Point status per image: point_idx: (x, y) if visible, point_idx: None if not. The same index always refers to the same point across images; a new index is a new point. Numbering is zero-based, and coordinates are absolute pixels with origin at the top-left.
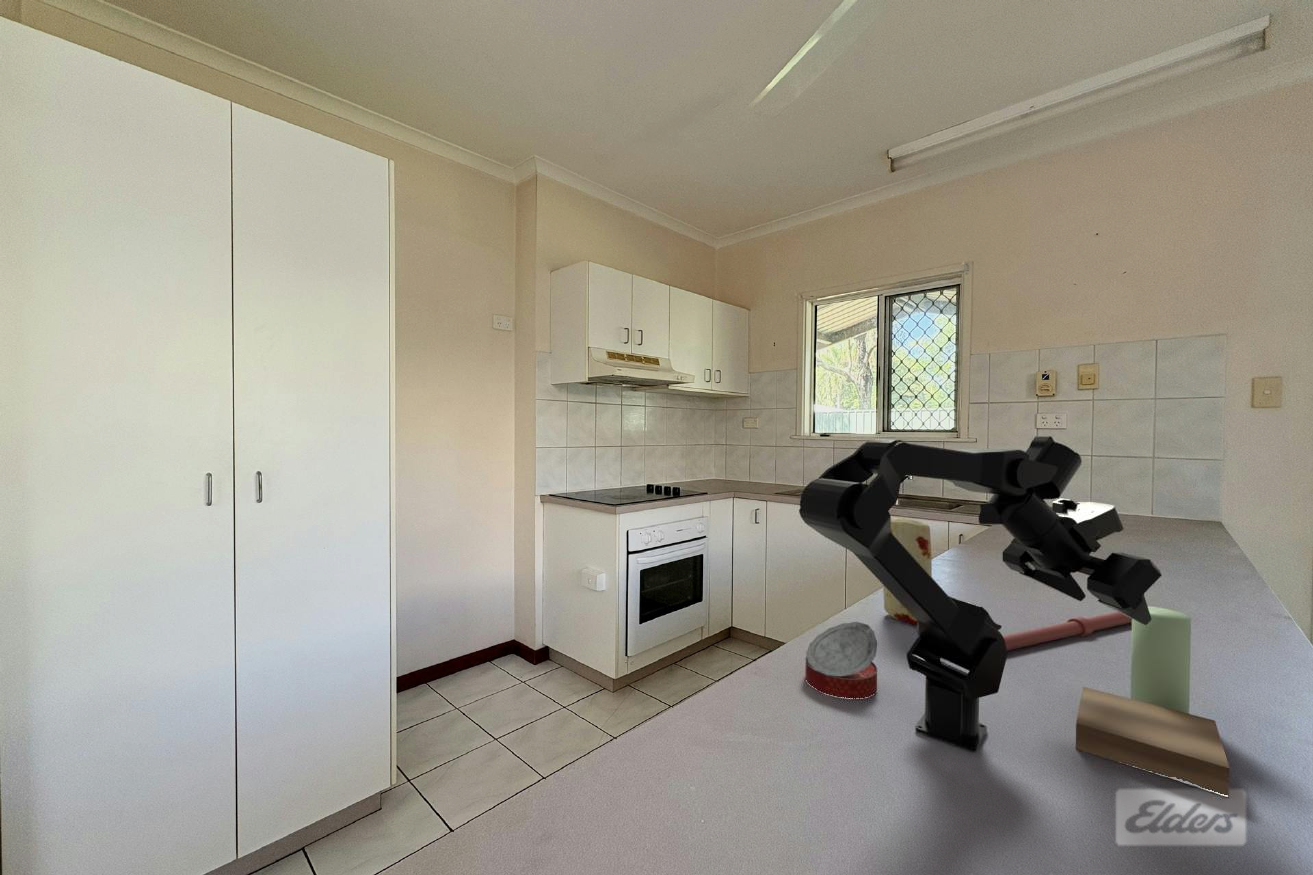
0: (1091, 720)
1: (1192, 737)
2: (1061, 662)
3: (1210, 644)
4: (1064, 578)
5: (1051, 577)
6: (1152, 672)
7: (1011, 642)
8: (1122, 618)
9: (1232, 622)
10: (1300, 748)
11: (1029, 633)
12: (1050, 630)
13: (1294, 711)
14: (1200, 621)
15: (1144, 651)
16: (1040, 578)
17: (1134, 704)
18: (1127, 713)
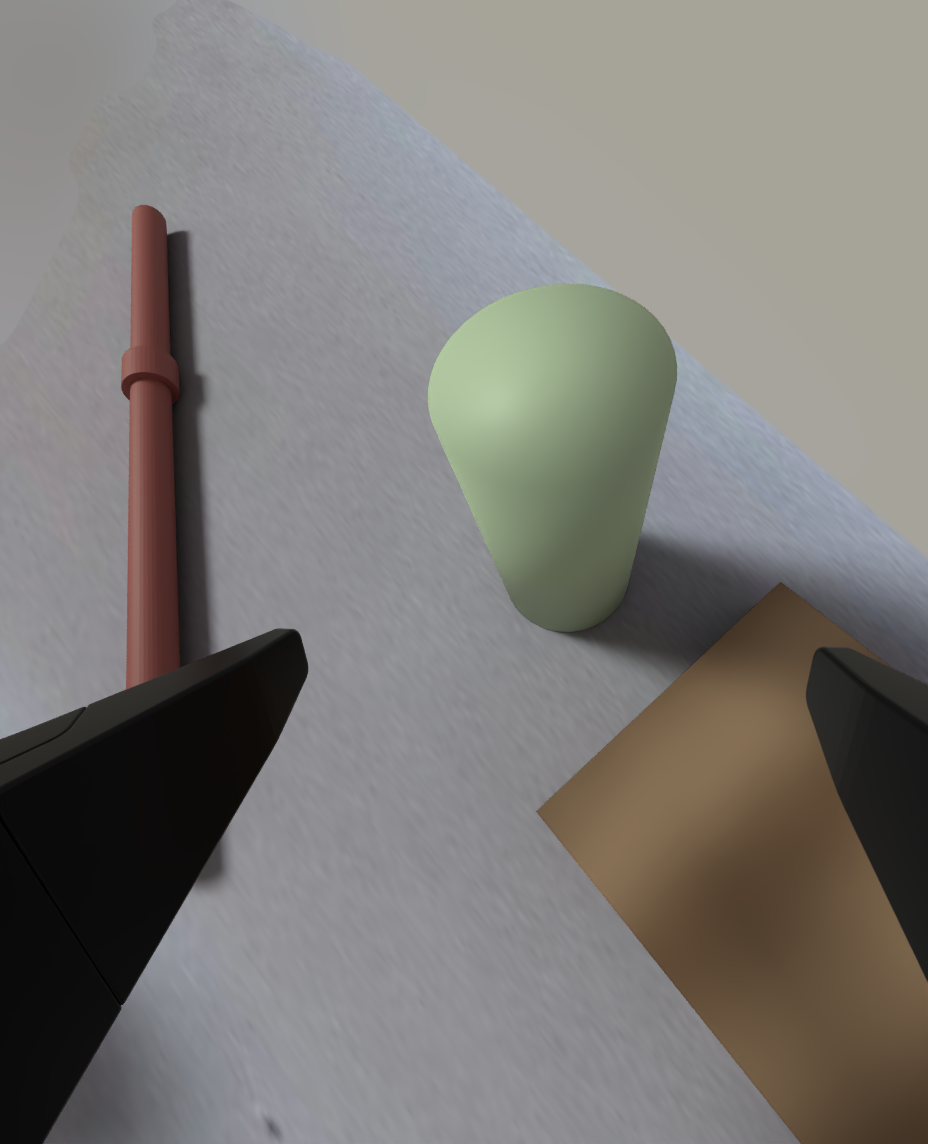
0: (830, 1102)
1: None
2: (279, 584)
3: (293, 181)
4: (140, 798)
5: (78, 954)
6: (598, 581)
7: None
8: (157, 252)
9: (229, 77)
10: (749, 409)
11: (145, 579)
12: (150, 492)
13: (582, 277)
14: (206, 119)
15: (571, 563)
16: (39, 1109)
17: (678, 749)
18: (750, 852)
